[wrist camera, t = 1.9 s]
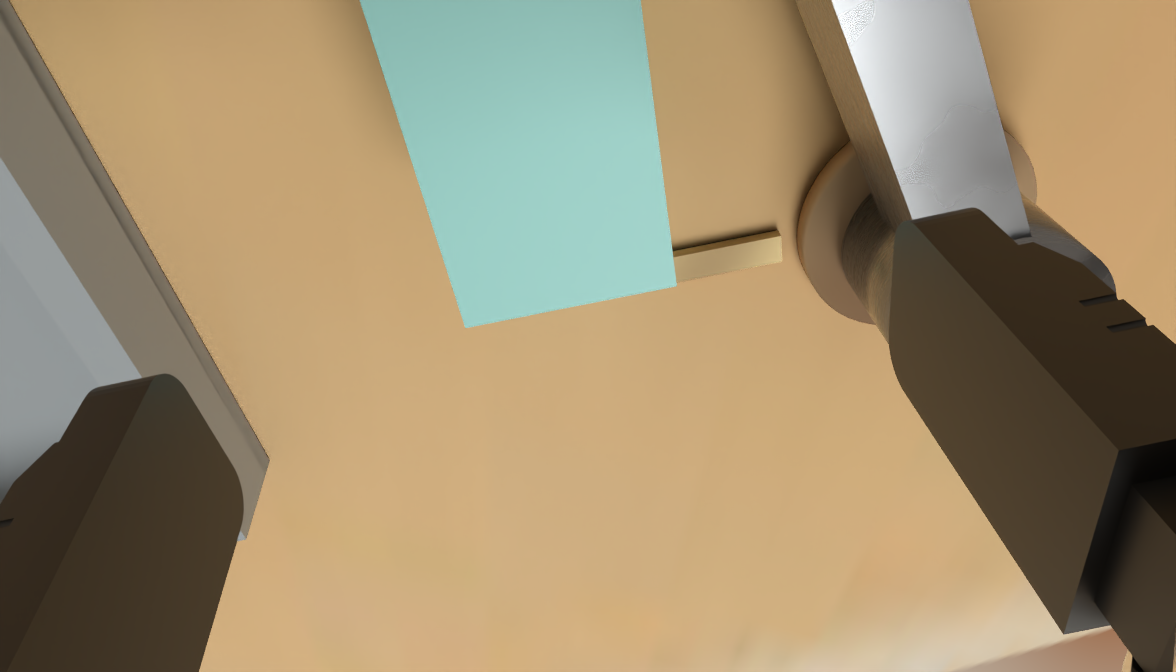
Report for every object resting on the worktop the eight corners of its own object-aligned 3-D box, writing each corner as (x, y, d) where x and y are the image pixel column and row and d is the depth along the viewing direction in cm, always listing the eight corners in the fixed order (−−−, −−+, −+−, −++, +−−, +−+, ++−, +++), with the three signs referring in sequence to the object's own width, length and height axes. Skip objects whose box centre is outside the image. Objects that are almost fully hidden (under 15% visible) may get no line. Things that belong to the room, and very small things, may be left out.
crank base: (1038, 84, 20) (1055, 95, 19) (1006, 288, 24) (1019, 301, 23) (653, 162, 20) (658, 174, 20) (679, 353, 24) (683, 368, 23)
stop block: (590, -122, 17) (633, -62, 12) (631, 153, 20) (677, 285, 15) (395, -81, 17) (357, -5, 12) (470, 186, 20) (465, 327, 15)
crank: (1040, 253, 22) (1142, 350, 18) (861, 340, 23) (927, 445, 19) (791, -689, 12) (917, -862, 8) (492, -452, 13) (496, -519, 9)
